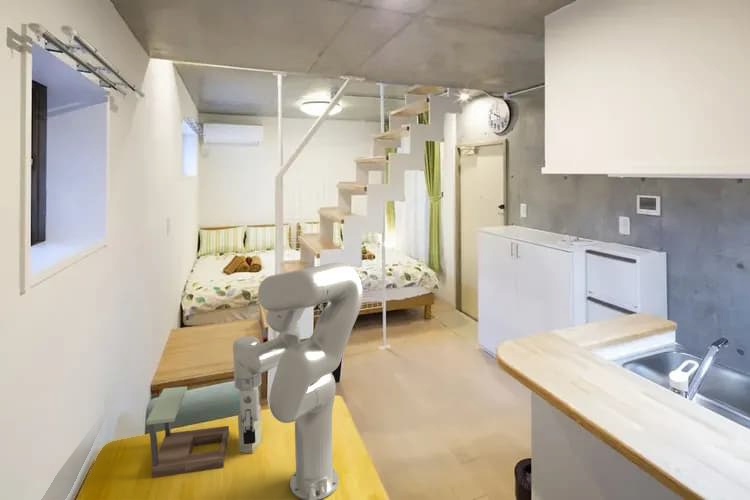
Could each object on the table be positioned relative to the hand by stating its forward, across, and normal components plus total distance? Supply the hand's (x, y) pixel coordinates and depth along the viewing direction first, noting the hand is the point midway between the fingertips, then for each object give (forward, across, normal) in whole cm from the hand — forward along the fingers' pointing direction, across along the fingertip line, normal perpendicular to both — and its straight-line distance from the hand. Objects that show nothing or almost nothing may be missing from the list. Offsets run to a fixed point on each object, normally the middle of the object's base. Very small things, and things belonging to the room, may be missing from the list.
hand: (250, 434), depth 124 cm
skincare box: (+4, 0, 0) cm, 4 cm away
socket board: (+4, 0, +16) cm, 16 cm away
